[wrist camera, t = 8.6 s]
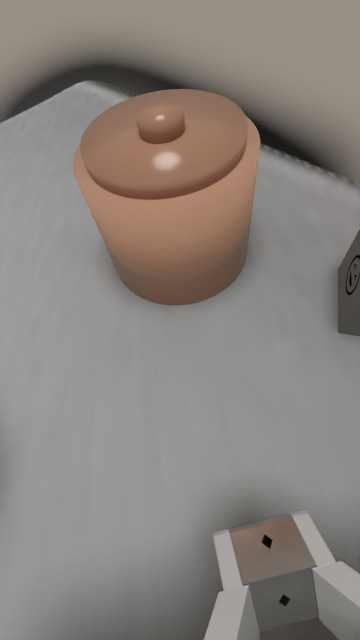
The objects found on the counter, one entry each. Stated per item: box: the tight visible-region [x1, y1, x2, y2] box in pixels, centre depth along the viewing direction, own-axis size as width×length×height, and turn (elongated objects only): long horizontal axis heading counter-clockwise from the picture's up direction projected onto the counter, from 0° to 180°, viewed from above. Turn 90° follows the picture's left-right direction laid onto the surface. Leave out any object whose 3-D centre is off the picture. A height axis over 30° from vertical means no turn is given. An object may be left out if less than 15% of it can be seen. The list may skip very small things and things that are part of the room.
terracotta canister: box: [73, 89, 260, 305], centre depth 19 cm, size 10×10×10 cm
